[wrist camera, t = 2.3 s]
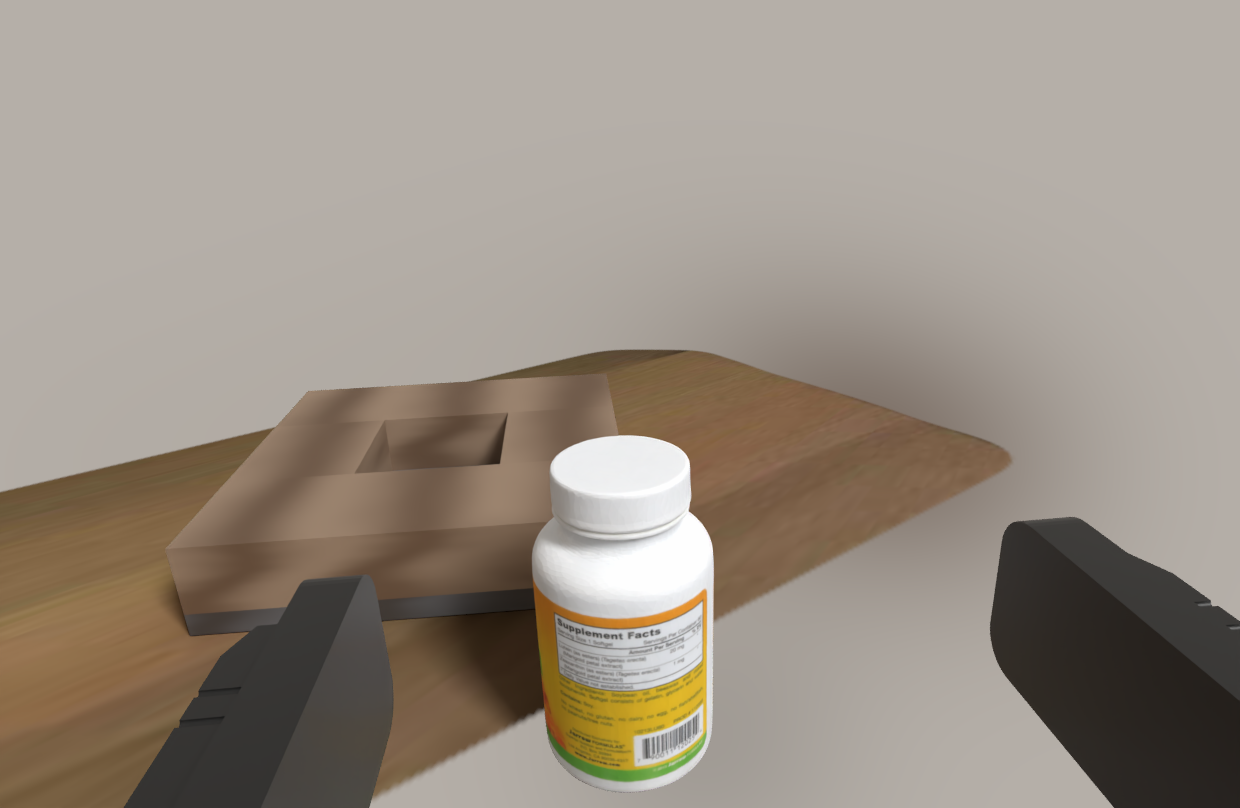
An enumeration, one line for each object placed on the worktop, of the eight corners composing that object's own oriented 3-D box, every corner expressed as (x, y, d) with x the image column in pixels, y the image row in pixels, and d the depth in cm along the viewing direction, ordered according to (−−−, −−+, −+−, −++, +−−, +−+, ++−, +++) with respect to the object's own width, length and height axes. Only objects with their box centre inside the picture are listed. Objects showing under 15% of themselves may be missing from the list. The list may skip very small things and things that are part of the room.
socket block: (189, 635, 30) (165, 549, 29) (319, 451, 47) (308, 391, 46) (637, 600, 31) (635, 515, 30) (608, 433, 48) (605, 373, 47)
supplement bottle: (583, 661, 28) (568, 418, 25) (727, 691, 26) (732, 434, 23) (519, 774, 23) (488, 492, 20) (689, 819, 22) (687, 519, 18)
